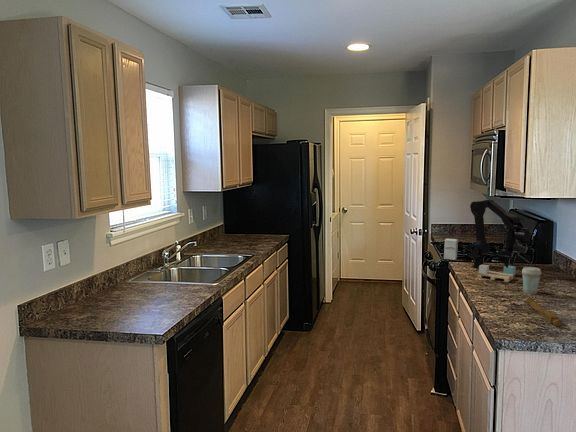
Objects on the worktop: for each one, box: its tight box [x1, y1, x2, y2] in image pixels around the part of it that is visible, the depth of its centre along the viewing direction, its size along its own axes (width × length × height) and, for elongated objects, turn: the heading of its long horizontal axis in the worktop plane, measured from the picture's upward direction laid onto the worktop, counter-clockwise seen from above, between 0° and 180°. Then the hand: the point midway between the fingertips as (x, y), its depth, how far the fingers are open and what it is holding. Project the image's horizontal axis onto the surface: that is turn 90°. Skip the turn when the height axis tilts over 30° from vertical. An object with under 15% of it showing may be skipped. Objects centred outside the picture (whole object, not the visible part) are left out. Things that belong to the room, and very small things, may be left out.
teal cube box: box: [502, 265, 517, 277], centre depth 265 cm, size 5×5×5 cm
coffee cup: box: [521, 266, 542, 295], centre depth 231 cm, size 8×8×12 cm
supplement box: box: [443, 237, 459, 261], centre depth 308 cm, size 7×7×13 cm
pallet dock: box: [476, 270, 514, 283], centre depth 259 cm, size 9×16×2 cm, turn 49°
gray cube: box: [478, 264, 490, 274], centre depth 261 cm, size 4×4×4 cm
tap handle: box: [525, 298, 562, 327], centre depth 200 cm, size 3×3×30 cm
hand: (509, 266), depth 265 cm, fingers open, 9 cm apart
